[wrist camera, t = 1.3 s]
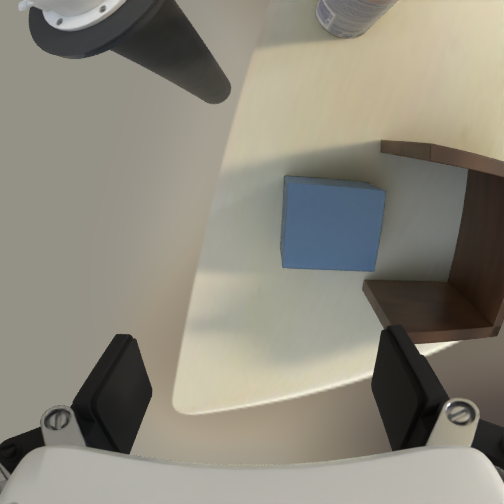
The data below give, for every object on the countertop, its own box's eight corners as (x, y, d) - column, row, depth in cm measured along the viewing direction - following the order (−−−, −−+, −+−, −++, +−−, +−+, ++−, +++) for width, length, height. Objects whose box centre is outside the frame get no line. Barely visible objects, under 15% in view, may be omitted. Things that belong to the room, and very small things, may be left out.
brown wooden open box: (362, 290, 32) (392, 345, 23) (381, 140, 27) (431, 143, 18) (452, 290, 32) (497, 336, 22) (477, 159, 27) (539, 172, 17)
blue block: (280, 248, 31) (282, 268, 26) (284, 175, 29) (288, 182, 24) (359, 252, 31) (374, 271, 26) (367, 182, 28) (386, 190, 24)
